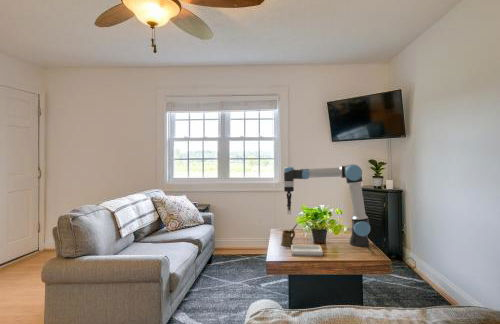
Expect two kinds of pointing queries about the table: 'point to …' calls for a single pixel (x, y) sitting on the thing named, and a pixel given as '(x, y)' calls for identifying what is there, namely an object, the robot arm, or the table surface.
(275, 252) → the table surface
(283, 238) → the wooden mug
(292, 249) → the tray
